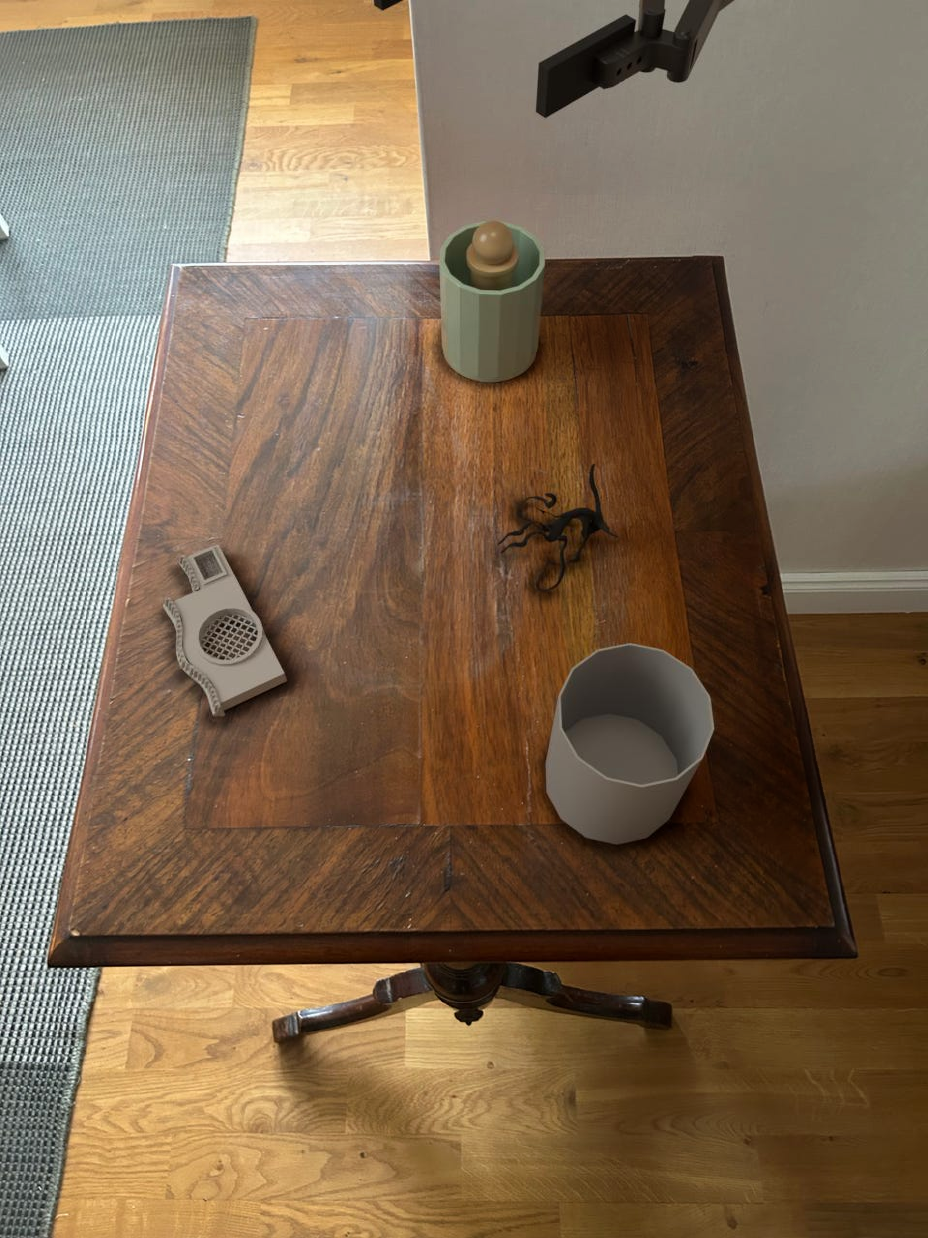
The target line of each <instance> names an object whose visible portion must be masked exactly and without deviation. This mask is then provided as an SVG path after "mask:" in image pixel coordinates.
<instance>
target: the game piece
mask: <svg viewBox="0 0 928 1238" xmlns="http://www.w3.org/2000/svg"><path fill="white" fill-rule="evenodd" d="M487 221H488V222H485V223H483V224H482V225H480V226H479V227H478V228H477V230H476V231H475V233H474V235H473V239H472V243H471V244H470V246H469V247H468V249H467V253H466V260H467V264H468V266H469V268H470V269H471V275H470V287H473V288H476V289H479V290H494V291H501V290H505V289H509V288H513V280H514V270H515V268H516V267H517V265H518V262H519V252H518V249H517V247H516V245H515V244H514V238H513V235H512V232H511V231H510V229H509V228H508V227H507V226H506V225H505V224H503V223H501V222H502V221H500V222H498V220H487Z"/></svg>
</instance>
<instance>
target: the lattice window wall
mask: <svg viewBox="0 0 928 1238" xmlns="http://www.w3.org/2000/svg"><path fill="white" fill-rule="evenodd" d="M178 564H179V566H180V567H181V569H182V570H183V571H184V573H185V574H186V575H187V578H188V579H189V584H190V587H191V591H192V592H191V593H189V594H185V595H184V596H181V597H179V598H176V599H175V600H172V598H171V597H170V596H168V597H165V598H164V603H163V604H162V608H163V609H164V611H165V612H166V614H167V616H168V617H169V619H170V620H171V622H172V624H173V626H174V628H175V633H176V635H175V637H176V640H175V654H176V661H177V663H178V664H179V668H180V669H181V670H182V671H183V672H184V673H185V674H187V675H188V676H189V677H190V678H191V679H192V680H194V681H195V682H196V683H197V684H198V685H200V687H201V688H202V690H203V692H204V693H205V694H206V697H207V701H208V703H209V707H210V710H211V713H212V716H213V717H214V718H216V717H226V713H225V711H226V710H228V709H230V708H233V707H235V706H237V705H240V704H242V703H243V702H246V701H247V700H249V699H252V698H254V697H255V696H259V695H261V694H263V693H265V692H266V691H269V690H271V689H273V688H275V687H278V686H279V685H281V684H284V683H286V682H287V681H288V680H287V676H286V673H285V671H284V669H283V668H282V666H281V664H280V662H279V660H278V657H277V656H276V654H275V652H274V649H273V648H272V645H271V644H270V643H269V640H268V638H267V637H266V633H265V630H264V627H263V625H262V622H261V619H260V618H259V616H258V615H257V614H256V613H255V612H254V611H253V609H252V607H251V605H250V603H249V601H248V599H247V597H246V595H245V593H244V591H243V589H242V587H241V585H240V583H239V581H238V580H237V577H236V575H235V574H234V572H233V570H232V568H231V566H230V564H229V562H228V561H227V558H226V556H225V554H224V552H223V550H222V548H221V546H220V545H219V543H218V544H215V545H212V546H209V547H206V548H205V549H202V550H199V551H198V552H195V553H192V554H191V555H189V556H186V555H185V554H182V555H179V558H178ZM231 622H234V623H233V624H231ZM223 624H224V626H223V627H221V626H222V625H223ZM237 624H240V625H239V627H238V626H236V625H237ZM243 626H245V627H246V628H245V629H243V628H242V627H243ZM227 627H230V629H229V630H228V629H227ZM250 628H251V629H253V631H252V632H251V631H250V632H249V629H250ZM218 629H219V630H220V632H217V631H216V630H218ZM233 629H236V631H235V632H233ZM223 632H226V634H225V635H224V634H223ZM239 632H242V634H241V635H240V634H238V633H239ZM256 632H257V634H255V633H256ZM214 634H215V635H216V637H213V635H214ZM246 634H247V635H249V636H248V638H247V637H246V636H245V635H246ZM229 635H232V636H231V637H228V636H229ZM244 636H245V637H244ZM219 637H222V639H219ZM235 637H237V638H238V639H237V640H236V639H235ZM253 637H255V638H256V640H255V641H254V640H252V638H253ZM210 639H211V640H213V641H209V640H210ZM226 640H228V642H225V641H226ZM241 640H244V643H242V642H241ZM216 642H218V644H217V643H216ZM232 642H233V643H235V644H234V645H233V644H231V643H232ZM207 643H208V644H210V645H209V646H206V644H207ZM248 643H252V645H251V646H249V645H247V644H248ZM222 645H225V646H222ZM238 645H240V646H241V648H240V647H237V646H238ZM213 646H215V649H213V648H212V647H213ZM228 647H230V648H231V649H228ZM244 648H247V649H248V651H246V650H244ZM219 649H222V650H221V651H220V652H219V651H218V650H219ZM234 650H237V652H235V651H234ZM209 651H210V652H212V653H211V654H210V653H209ZM224 652H228V653H227V654H225V653H224ZM241 653H244V654H241ZM215 654H217V656H214V655H215ZM230 655H235V656H234V657H232V656H230ZM221 657H224V658H223V659H222V658H221Z"/></svg>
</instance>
